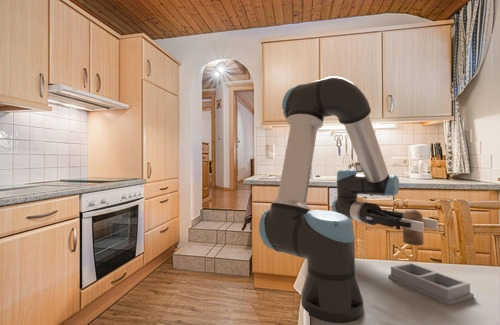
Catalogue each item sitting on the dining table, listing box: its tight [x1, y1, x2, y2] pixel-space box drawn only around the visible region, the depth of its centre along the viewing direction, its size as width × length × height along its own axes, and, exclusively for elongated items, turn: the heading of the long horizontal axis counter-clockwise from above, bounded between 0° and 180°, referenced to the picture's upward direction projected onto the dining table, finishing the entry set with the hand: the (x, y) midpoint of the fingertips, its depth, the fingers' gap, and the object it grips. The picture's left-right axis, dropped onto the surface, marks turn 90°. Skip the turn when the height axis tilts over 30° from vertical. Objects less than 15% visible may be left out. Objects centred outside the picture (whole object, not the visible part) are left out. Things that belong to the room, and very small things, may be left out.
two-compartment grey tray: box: [388, 262, 475, 306], centre depth 75 cm, size 18×10×4 cm, turn 21°
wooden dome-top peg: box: [402, 208, 424, 246], centre depth 79 cm, size 5×5×10 cm
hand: (430, 226), depth 74 cm, fingers closed on wooden dome-top peg, 5 cm apart
